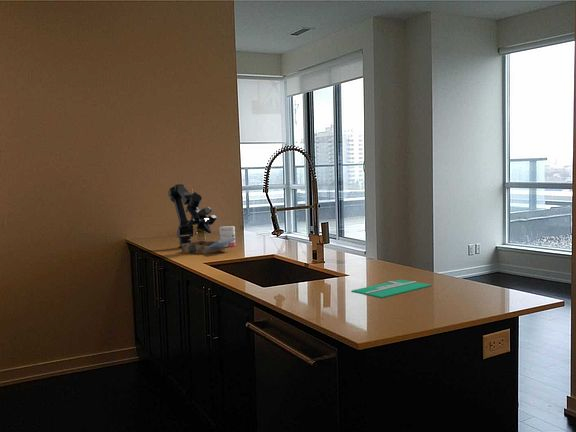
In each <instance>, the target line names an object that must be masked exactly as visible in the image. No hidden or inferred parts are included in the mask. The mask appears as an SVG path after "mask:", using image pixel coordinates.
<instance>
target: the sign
mask: <svg viewBox="0 0 576 432" xmlns="http://www.w3.org/2000/svg"><path fill="white" fill-rule="evenodd" d="M429 287H432V284H429V283H422V282H417V280H416V281H415V280H414V281H412V280H411V281H410V280H405V279H397V280H392V281H391V280H389V281H387V282H385V283H379V284H375V285H371V286H365V287H362V288H361V287H360V288H358V289H357V288H356V289H352V290H351V292H352V293H357V294H362V295H366V296H370V297H371V296H372V297H376V298H380V299H383V298H387V297H392V296H396V295H400V294H405V293H409V292H413V291H416V290H421V289H425V288H429Z"/></svg>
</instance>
